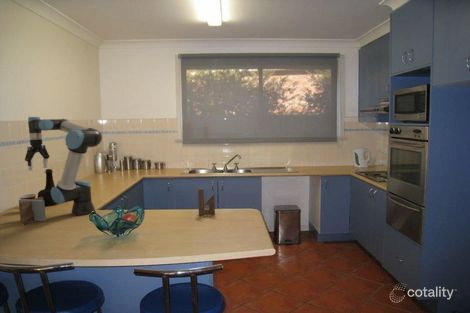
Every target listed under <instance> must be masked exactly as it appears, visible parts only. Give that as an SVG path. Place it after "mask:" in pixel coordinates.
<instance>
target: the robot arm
mask: <svg viewBox="0 0 470 313" xmlns="http://www.w3.org/2000/svg"><path fill="white" fill-rule="evenodd" d="M27 124H28V133H29V135H28V136H29V139H30V140H29V144H30V146H27V149H26V154H25V157H24V161H25V162H26V163H27V167H28V171H29V172H30V171H31V172H32V171H34V166H33V161H32V160H33V158H34V156H35V155H36V154H37V153H39V154H40V155H41V157H42V164H43V168H44V169H49V168H48V159H49V158H50V154H49V152H48V150H47V148H46V145H44V144H43V134H42V131H45V132H47V131H62V132H64V133H67V134H66V136H65V139H64V141H65V146H66V148H67V150H68V153H67V157H66V161H65V164H64V168H63V170H62V171H63V172H62V175H61V178H60V180H58V181H57V183H56V185H55V187H53V188H52V189H51V196H52V199H53V200H54V202H56V203H57V204H58V205H60V204H65V203H69V202H73V203H72V209H71V215H72V216H87V215H91V214H92V213H91V212H92V211H95V212H96V209H95V206H94V204H93V201H92V189H91V188H92V186H91V182H90V181H89V180H76V179H77V176H78V172H79V170H80V166H81V163H82V160H83V156H84V154H87V152H88V149H89V148H94V147H95V148H96V147H97V146H98V145H100V144H101V143H102V140H103V135H102V133H101V132H100V131H99V130H98V129H96V128H93V127H84V126H82V125H80V124H76V123H73V122H70V121H69V119H66V118H65V119H64V118H59V119H58V118H57V119H56V118H55V119H54V118H53V119H51V118H50V119H49V118H47V119H45V118H43V119H41V117H40V116H29V117H28V118H27ZM57 204H56V205H57ZM90 213H91V214H90Z"/></svg>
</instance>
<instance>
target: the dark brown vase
mask: <svg viewBox="0 0 470 313" xmlns="http://www.w3.org/2000/svg"><path fill="white" fill-rule="evenodd" d="M44 173H45V186H44V188H43V189H41V190H39V191H38V192H37V195H36V198H39V197H43V200H44V204H45V206H54V204H55V205H57V203H56V202H54V200H53V199H52V196H51V189H52V188H53V187H56V185H55V181H54V176H53V173H54V171H53V169H52V168H45V171H44Z"/></svg>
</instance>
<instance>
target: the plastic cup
mask: <svg viewBox="0 0 470 313" xmlns="http://www.w3.org/2000/svg"><path fill="white" fill-rule="evenodd" d="M36 197H37V194H36V193H30V194H24V195H21V196H19V197H18V198H19V200H21V199H26V200H32V199H35V198H36Z"/></svg>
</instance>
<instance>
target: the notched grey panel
mask: <svg viewBox="0 0 470 313" xmlns="http://www.w3.org/2000/svg"><path fill="white" fill-rule="evenodd" d="M25 201H31V209H32V211H33V213H34V221H33V222H36V221H45V220H46V218H47V216H46V205H45V204H44V200H26V199H18V204H19V203H22V202H25ZM18 208H19V207H18ZM19 210H20V208H19ZM20 221H21V219H20ZM46 221H47V220H46ZM46 221H45V222H46Z"/></svg>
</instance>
